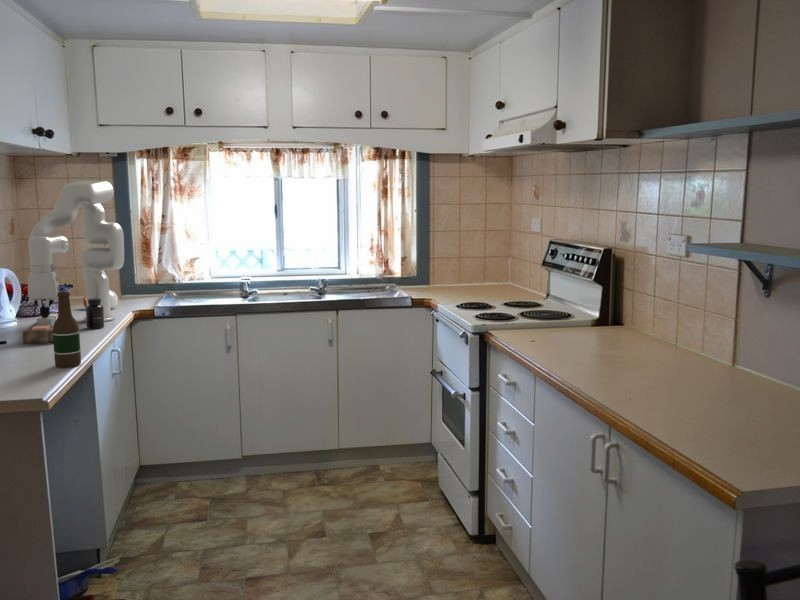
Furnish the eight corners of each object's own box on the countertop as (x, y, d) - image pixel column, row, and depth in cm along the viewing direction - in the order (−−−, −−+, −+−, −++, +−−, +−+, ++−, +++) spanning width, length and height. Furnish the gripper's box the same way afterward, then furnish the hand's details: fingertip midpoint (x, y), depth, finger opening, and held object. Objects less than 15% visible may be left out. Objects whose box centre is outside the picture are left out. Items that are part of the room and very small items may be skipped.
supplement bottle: (98, 329, 288) (96, 300, 287) (83, 329, 290) (81, 299, 288) (108, 326, 295) (106, 298, 293) (93, 325, 296) (91, 297, 295)
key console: (23, 344, 260) (22, 331, 259) (38, 333, 280) (37, 321, 279) (55, 343, 262) (54, 330, 261) (68, 332, 282) (68, 320, 282)
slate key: (40, 327, 272) (40, 317, 272) (55, 326, 273) (54, 316, 273) (37, 329, 268) (36, 319, 267) (51, 329, 269) (51, 318, 268)
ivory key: (45, 324, 279) (45, 314, 278) (59, 323, 280) (58, 313, 280) (42, 326, 274) (41, 316, 274) (56, 325, 275) (55, 315, 275)
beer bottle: (49, 367, 226) (44, 293, 222) (65, 362, 234) (60, 289, 230) (71, 369, 225) (66, 294, 221) (86, 363, 232) (82, 290, 229)
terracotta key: (36, 336, 266) (35, 325, 265) (50, 335, 267) (50, 325, 266) (32, 339, 261) (31, 328, 260) (47, 338, 262) (46, 327, 262)
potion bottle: (119, 312, 339) (87, 316, 337) (121, 298, 345) (90, 302, 344) (114, 298, 332) (80, 302, 330) (116, 284, 339) (83, 288, 337)
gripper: (65, 268, 272) (68, 315, 275) (23, 268, 269) (26, 316, 272) (61, 270, 265) (64, 318, 268) (17, 270, 262) (21, 319, 264)
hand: (45, 317), depth 270 cm, fingers closed
